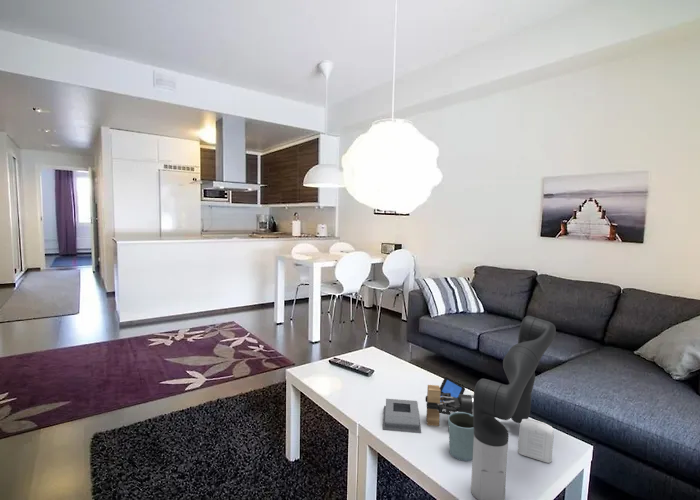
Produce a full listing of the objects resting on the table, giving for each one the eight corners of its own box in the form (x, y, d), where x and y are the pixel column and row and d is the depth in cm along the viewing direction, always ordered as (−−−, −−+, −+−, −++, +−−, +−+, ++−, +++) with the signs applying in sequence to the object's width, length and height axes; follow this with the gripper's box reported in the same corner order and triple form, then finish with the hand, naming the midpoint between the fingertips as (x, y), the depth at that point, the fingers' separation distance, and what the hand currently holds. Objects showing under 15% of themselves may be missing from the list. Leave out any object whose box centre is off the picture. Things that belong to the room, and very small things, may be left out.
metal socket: (421, 433, 138) (421, 420, 137) (382, 429, 139) (383, 416, 139) (418, 410, 153) (418, 399, 153) (384, 408, 155) (384, 396, 155)
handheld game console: (426, 396, 166) (427, 380, 166) (444, 391, 171) (445, 376, 171) (446, 409, 155) (446, 392, 155) (465, 404, 160) (466, 387, 160)
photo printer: (551, 457, 125) (554, 422, 124) (551, 465, 121) (554, 428, 120) (518, 448, 130) (520, 414, 129) (517, 454, 126) (519, 419, 125)
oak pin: (439, 426, 143) (440, 390, 141) (427, 425, 143) (428, 389, 142) (437, 419, 147) (439, 385, 146) (426, 418, 147) (427, 384, 146)
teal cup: (481, 451, 128) (483, 417, 127) (473, 467, 119) (475, 431, 118) (452, 440, 133) (453, 408, 132) (442, 455, 125) (443, 421, 124)
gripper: (468, 387, 149) (424, 384, 151) (476, 405, 135) (428, 401, 137) (467, 405, 150) (424, 402, 152) (475, 425, 136) (427, 421, 138)
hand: (426, 402), depth 145 cm, fingers closed on oak pin, 4 cm apart
